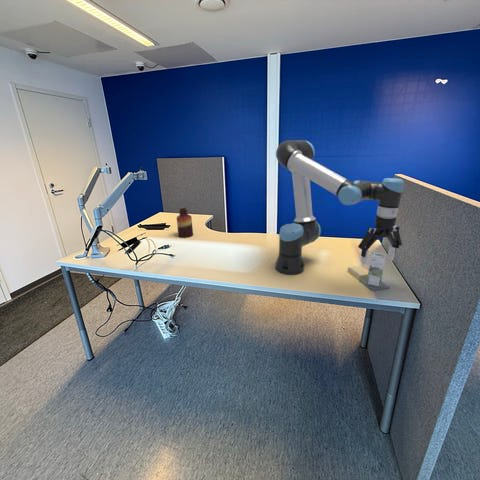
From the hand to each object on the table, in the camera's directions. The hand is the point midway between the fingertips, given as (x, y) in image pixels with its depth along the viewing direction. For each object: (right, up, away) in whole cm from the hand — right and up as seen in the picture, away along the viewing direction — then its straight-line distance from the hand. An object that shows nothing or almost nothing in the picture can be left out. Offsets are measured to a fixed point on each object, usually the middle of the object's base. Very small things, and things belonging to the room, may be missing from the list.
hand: (376, 261), depth 115 cm
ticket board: (-1, -8, +13) cm, 15 cm away
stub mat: (+1, -11, +4) cm, 12 cm away
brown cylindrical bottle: (-102, +13, +76) cm, 128 cm away
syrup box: (0, -11, +4) cm, 11 cm away
